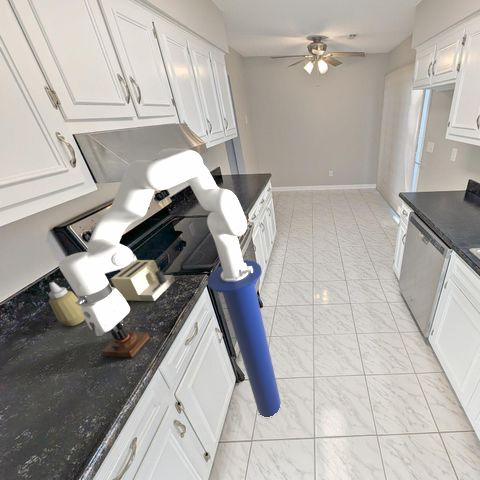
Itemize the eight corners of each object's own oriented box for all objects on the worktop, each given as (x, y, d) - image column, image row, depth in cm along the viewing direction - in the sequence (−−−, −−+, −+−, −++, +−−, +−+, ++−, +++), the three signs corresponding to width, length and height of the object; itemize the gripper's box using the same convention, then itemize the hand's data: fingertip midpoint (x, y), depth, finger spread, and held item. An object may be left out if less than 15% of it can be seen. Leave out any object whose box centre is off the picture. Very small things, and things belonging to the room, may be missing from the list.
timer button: (133, 336, 84) (131, 333, 83) (125, 345, 81) (123, 342, 80) (124, 336, 85) (121, 332, 84) (115, 345, 82) (113, 341, 81)
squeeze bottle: (74, 314, 100) (49, 277, 92) (95, 312, 100) (72, 275, 92) (57, 330, 93) (28, 291, 84) (79, 328, 93) (53, 289, 85)
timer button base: (149, 337, 87) (145, 328, 85) (132, 357, 80) (127, 348, 78) (123, 336, 88) (118, 327, 86) (104, 356, 81) (98, 347, 79)
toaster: (175, 280, 116) (167, 260, 111) (154, 301, 104) (144, 279, 99) (145, 280, 118) (136, 259, 113) (121, 300, 106) (110, 278, 101)
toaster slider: (167, 279, 111) (163, 270, 109) (163, 283, 109) (159, 274, 107) (161, 279, 112) (157, 270, 109) (157, 283, 109) (153, 274, 107)
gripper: (83, 311, 67) (113, 358, 75) (127, 277, 80) (148, 320, 88) (58, 310, 67) (91, 357, 76) (106, 277, 81) (129, 320, 89)
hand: (121, 337), depth 82 cm, fingers closed
